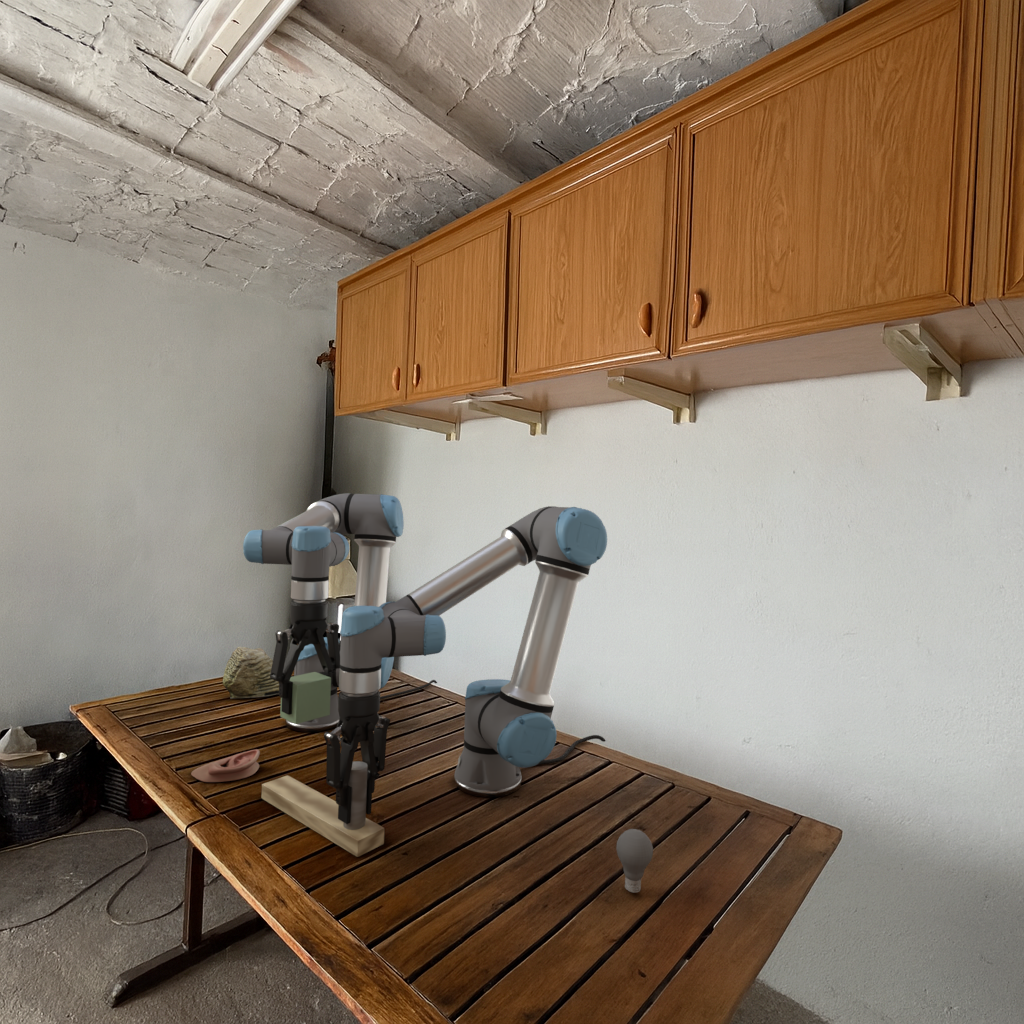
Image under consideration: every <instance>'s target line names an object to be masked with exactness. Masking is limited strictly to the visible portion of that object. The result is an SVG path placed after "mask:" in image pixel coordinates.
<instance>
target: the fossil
mask: <svg viewBox="0 0 1024 1024" xmlns="http://www.w3.org/2000/svg"><path fill="white" fill-rule="evenodd" d="M272 663H273V658H271V657H270V656H269V655H268V654H267V653H266V652H265V650H264V649H263V648H260V647H258V648H251V647H247V646H246V647H245V646H238V647H237V648H236V649H235V650H233V651H232V653H231V656H230V657H229V659H228V660H227V663H226V666H225V668H224V671H223V675H222V676H223V677H222V685H223V687H224V688H225V690H226V691H228V693H229V698H230V699H250V698H264V697H271V696H275V695H279V682H278V681H275V680H273V679H271V678H270V673H271V668H272Z"/></svg>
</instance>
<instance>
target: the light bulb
mask: <svg viewBox="0 0 1024 1024" xmlns="http://www.w3.org/2000/svg"><path fill="white" fill-rule="evenodd" d="M615 849H616V854H617V857H618V859H619V861H620V863H621V865H622V867H623V873H624V874H623V875H624V876H625V878H624V888H625V890H627V891H628V892H630V893H634V894H635V893H639V892H640V891H641V889H642V887H641V886H642V879H643V877H644V875H645V871H646V868H647V867H648V866H649V864H650V863H651V861H652V859H653V855H654V847H653V843H652V841H651V838H649V836H648V835H647V834H646V833H645V832H643V831H642V830H641V829H636V828H629V829H627V830H625V831H623V832H622V833H621V834H620V835H619V837H618V839H617V841H616V847H615Z"/></svg>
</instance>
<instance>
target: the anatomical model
mask: <svg viewBox="0 0 1024 1024" xmlns="http://www.w3.org/2000/svg"><path fill="white" fill-rule="evenodd" d="M260 754H261V752H260V749H257V748H256V749H251V750H247V751H243V752H240V753H236V754H234V755H231V756H228V757H225V758H222V759H219V760H216V761H211V762H209V763H206V764H204V765H201V766H198V767H197V768H195V769H193V770H192V771H191V773H190V775H191V776H192V777H193V778H194V779H196V780H198V781H201V782H203V783H221V782H230V781H231V782H233V781H237V780H241V779H246V778H248V777H250V776H253V775H254V774H256V772H257V771H258V770H259V768H260V764H259V762H258V759H259V757H260Z"/></svg>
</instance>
